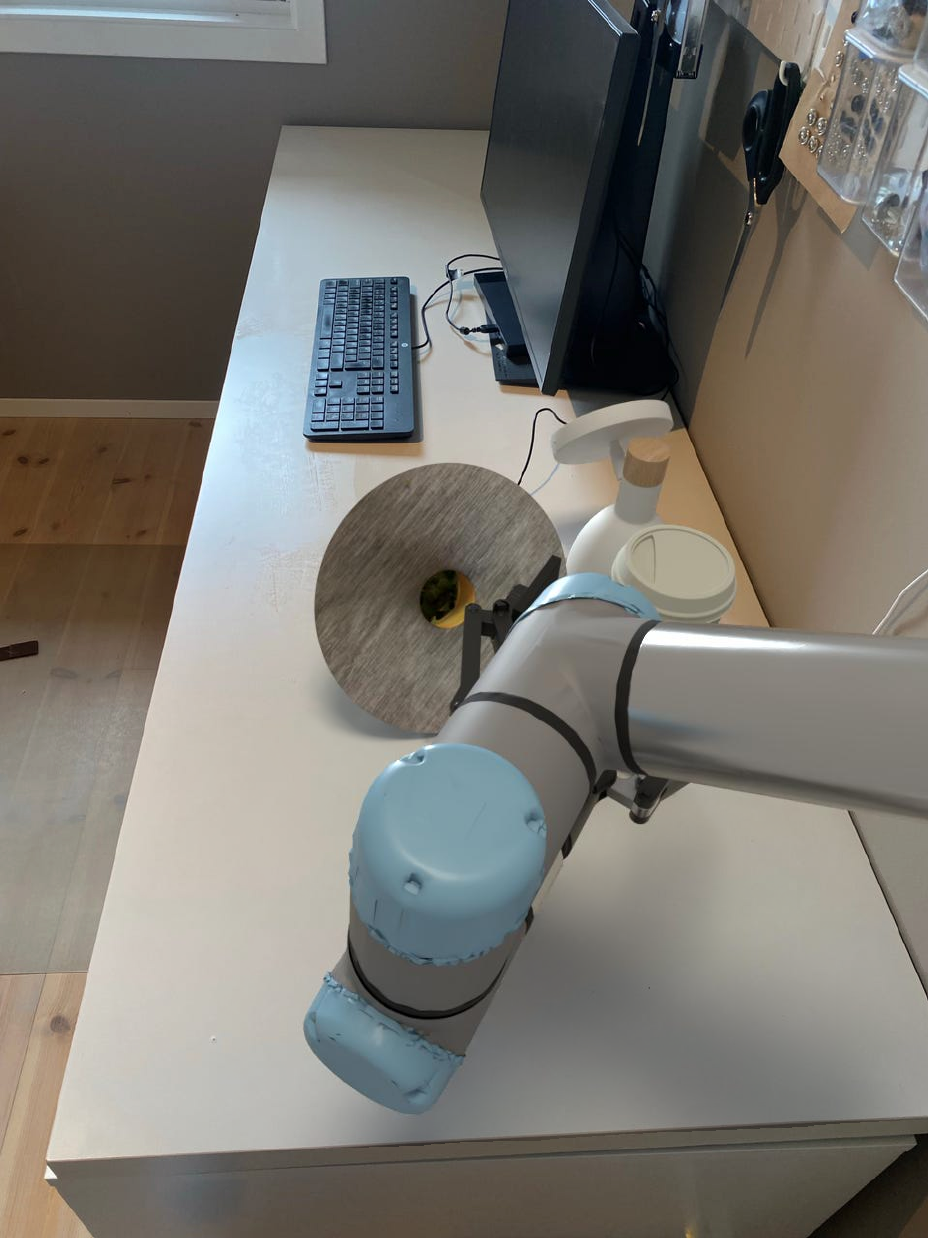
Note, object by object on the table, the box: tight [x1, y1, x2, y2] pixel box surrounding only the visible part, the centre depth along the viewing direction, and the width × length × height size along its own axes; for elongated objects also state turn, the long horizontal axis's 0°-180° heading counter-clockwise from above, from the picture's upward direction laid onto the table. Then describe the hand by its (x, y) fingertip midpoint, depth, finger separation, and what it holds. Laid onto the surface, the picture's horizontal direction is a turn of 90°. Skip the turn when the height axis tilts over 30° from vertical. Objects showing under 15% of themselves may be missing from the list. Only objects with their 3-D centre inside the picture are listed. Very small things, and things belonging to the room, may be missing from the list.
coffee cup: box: [611, 524, 738, 624], centre depth 81 cm, size 11×11×15 cm
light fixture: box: [549, 399, 674, 580], centre depth 95 cm, size 13×21×20 cm
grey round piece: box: [313, 462, 567, 734], centre depth 89 cm, size 25×18×25 cm
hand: (640, 603), depth 65 cm, fingers open, 13 cm apart
